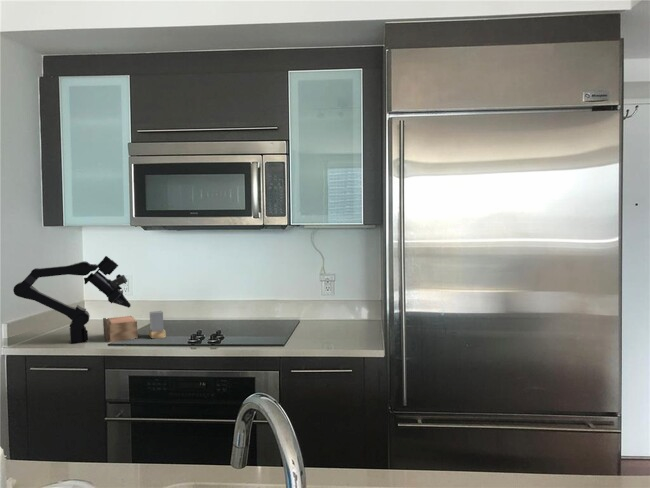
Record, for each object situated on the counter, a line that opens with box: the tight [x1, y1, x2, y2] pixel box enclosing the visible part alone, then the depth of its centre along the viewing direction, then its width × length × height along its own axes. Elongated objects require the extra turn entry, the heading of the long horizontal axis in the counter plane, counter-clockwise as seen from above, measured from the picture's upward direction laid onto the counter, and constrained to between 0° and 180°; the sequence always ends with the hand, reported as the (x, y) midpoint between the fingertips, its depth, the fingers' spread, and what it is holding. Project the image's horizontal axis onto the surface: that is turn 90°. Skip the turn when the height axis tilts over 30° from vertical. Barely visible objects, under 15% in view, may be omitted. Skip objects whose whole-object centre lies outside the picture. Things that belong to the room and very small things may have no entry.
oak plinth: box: [148, 329, 167, 339], centre depth 253 cm, size 6×6×3 cm
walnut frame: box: [102, 317, 139, 343], centre depth 253 cm, size 12×13×8 cm
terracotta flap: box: [106, 315, 136, 324], centre depth 253 cm, size 10×10×1 cm
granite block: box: [149, 310, 165, 332], centre depth 253 cm, size 5×5×8 cm
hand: (129, 306), depth 255 cm, fingers open, 3 cm apart
